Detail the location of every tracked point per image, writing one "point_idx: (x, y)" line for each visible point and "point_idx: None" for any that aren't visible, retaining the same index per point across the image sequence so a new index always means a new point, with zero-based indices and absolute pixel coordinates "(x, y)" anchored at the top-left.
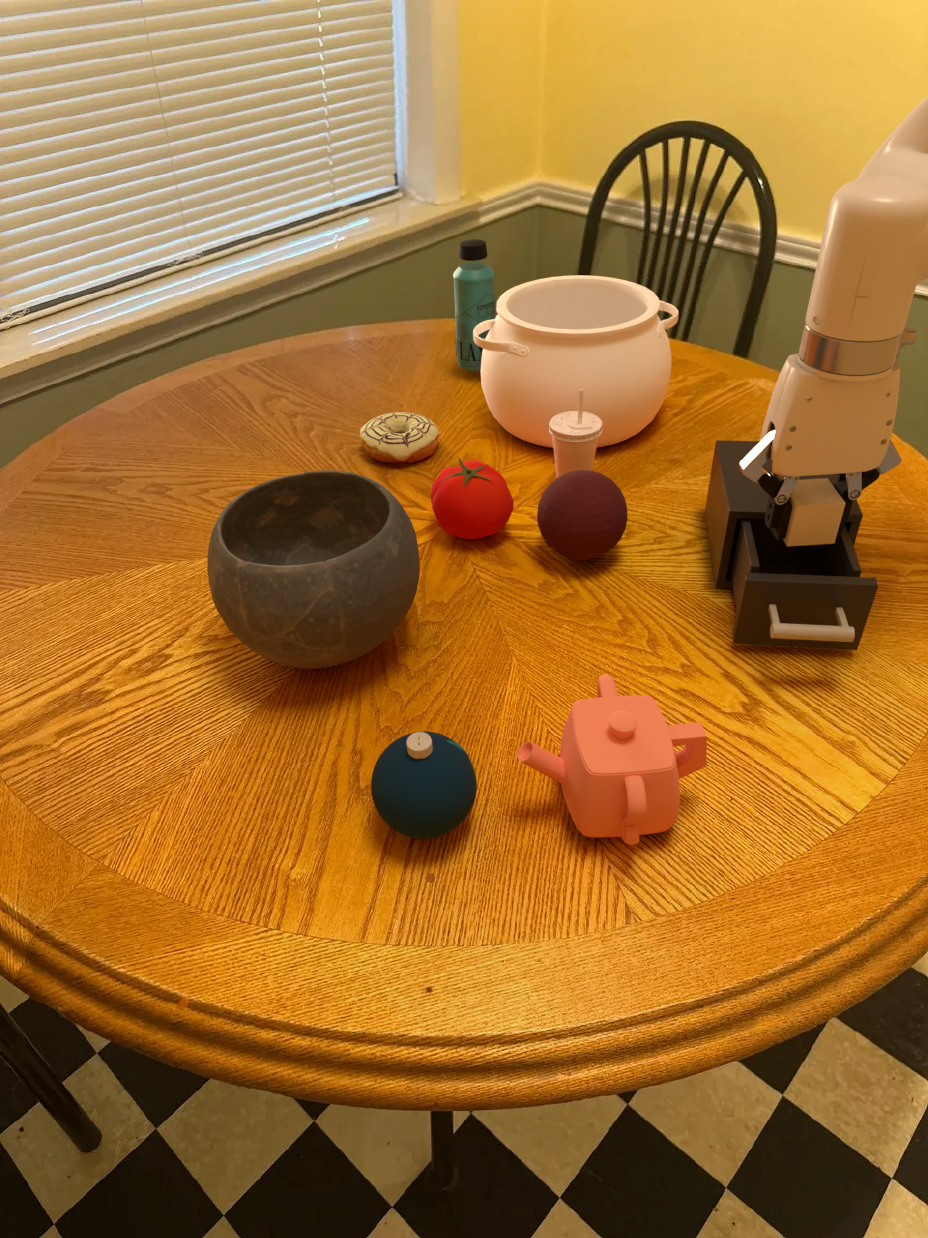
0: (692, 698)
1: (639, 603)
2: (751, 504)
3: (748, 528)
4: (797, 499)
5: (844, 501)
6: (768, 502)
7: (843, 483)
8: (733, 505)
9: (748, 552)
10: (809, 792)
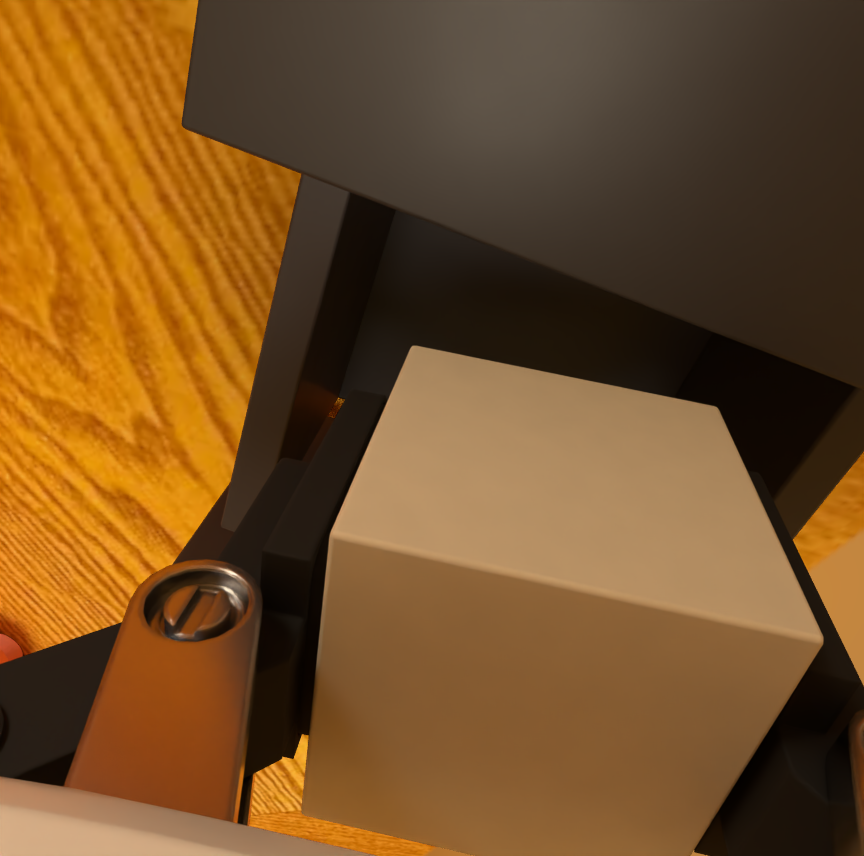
0: (142, 525)
1: (41, 96)
2: (369, 86)
3: (318, 241)
4: (346, 767)
5: (699, 846)
6: (233, 541)
7: (812, 854)
8: (228, 58)
9: (240, 440)
10: (300, 756)
